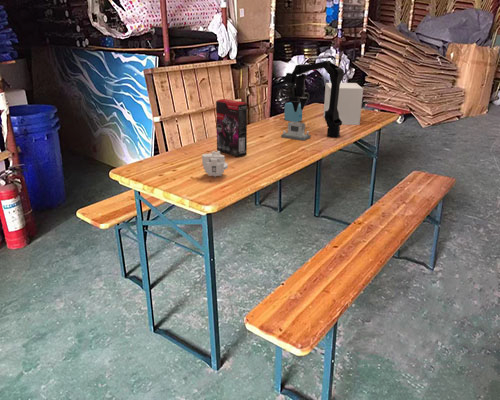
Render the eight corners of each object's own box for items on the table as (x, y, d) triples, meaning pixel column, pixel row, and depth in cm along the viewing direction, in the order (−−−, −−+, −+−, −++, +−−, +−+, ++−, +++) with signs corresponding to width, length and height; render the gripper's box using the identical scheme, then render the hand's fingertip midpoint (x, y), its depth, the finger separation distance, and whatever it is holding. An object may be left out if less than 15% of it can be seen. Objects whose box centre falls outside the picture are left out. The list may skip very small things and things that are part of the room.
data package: (302, 121, 304) (302, 104, 299) (298, 122, 300) (299, 105, 296) (287, 119, 311) (288, 102, 306) (284, 120, 307) (284, 102, 303)
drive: (304, 134, 262) (305, 123, 260) (301, 136, 259) (301, 124, 256) (290, 132, 267) (291, 121, 264) (287, 134, 263) (287, 122, 261)
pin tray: (310, 137, 263) (310, 130, 262) (303, 140, 256) (304, 134, 255) (288, 134, 271) (288, 127, 269) (281, 137, 264) (281, 130, 262)
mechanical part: (228, 171, 205) (228, 147, 200) (226, 180, 193) (226, 155, 189) (204, 171, 205) (203, 146, 200) (201, 180, 194) (200, 154, 189)
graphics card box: (215, 151, 236) (214, 100, 225) (225, 148, 240) (224, 98, 230) (238, 157, 225) (238, 104, 214) (247, 155, 230) (248, 102, 219)
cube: (323, 117, 319) (325, 82, 310) (352, 117, 318) (356, 83, 309) (327, 125, 296) (330, 88, 287) (359, 125, 295) (363, 88, 286)
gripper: (294, 82, 283) (293, 107, 289) (281, 86, 268) (280, 111, 274) (310, 84, 277) (309, 108, 283) (297, 87, 263) (296, 113, 269)
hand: (298, 110), depth 278 cm, fingers open, 9 cm apart
